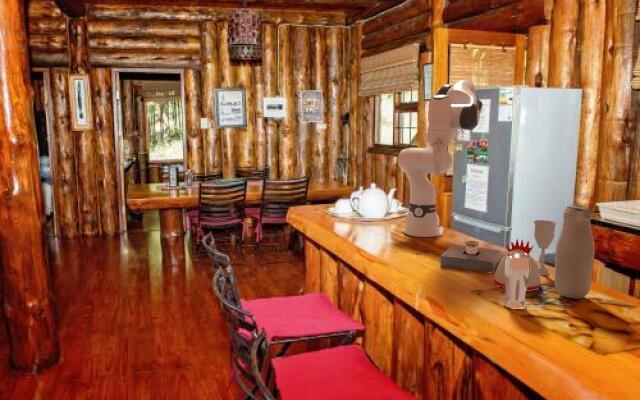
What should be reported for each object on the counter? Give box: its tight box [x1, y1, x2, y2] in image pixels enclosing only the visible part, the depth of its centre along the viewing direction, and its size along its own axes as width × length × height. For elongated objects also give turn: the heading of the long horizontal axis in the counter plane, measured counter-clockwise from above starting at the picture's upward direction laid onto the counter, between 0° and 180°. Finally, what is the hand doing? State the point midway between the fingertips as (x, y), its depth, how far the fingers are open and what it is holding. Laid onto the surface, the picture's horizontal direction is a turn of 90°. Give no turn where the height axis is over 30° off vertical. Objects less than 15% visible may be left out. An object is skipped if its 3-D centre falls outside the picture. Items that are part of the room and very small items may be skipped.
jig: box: [439, 244, 502, 274], centre depth 194 cm, size 18×18×4 cm
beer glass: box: [503, 252, 530, 308], centre depth 150 cm, size 7×7×15 cm
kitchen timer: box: [493, 238, 541, 290], centre depth 169 cm, size 14×14×15 cm
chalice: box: [533, 219, 558, 276], centre depth 181 cm, size 7×7×18 cm
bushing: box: [464, 240, 480, 256], centre depth 194 cm, size 5×5×8 cm
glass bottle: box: [553, 204, 596, 300], centre depth 157 cm, size 10×10×28 cm
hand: (437, 174), depth 205 cm, fingers open, 8 cm apart
